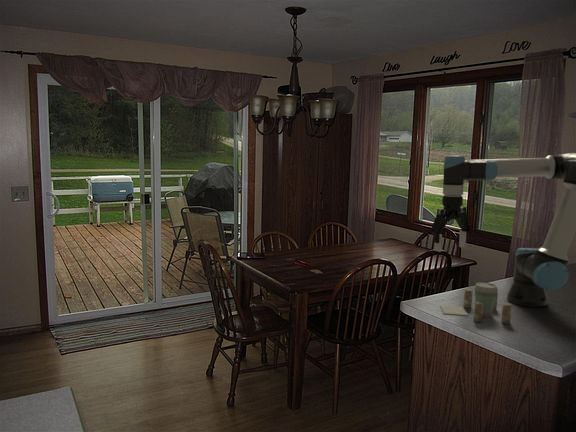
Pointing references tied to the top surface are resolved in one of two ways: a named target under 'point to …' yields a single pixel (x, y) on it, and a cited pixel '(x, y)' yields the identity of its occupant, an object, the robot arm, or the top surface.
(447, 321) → the top surface
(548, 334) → the top surface
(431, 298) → the top surface
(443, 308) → the felt mat
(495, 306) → the spacer posts
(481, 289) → the coffee cup
